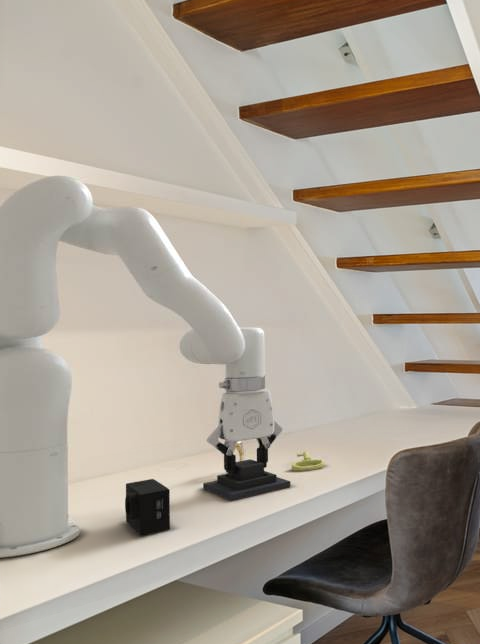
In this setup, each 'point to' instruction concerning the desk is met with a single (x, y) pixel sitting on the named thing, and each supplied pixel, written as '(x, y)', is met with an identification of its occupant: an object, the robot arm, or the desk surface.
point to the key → (307, 463)
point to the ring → (240, 450)
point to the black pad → (248, 470)
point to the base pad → (245, 486)
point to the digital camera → (147, 506)
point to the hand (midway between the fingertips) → (246, 469)
